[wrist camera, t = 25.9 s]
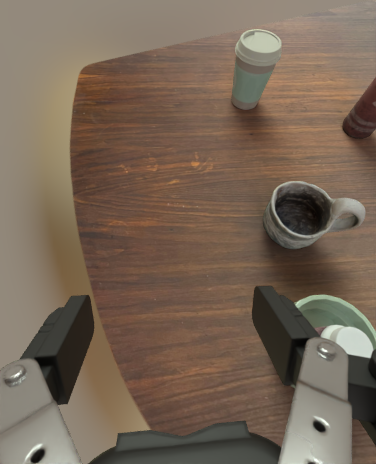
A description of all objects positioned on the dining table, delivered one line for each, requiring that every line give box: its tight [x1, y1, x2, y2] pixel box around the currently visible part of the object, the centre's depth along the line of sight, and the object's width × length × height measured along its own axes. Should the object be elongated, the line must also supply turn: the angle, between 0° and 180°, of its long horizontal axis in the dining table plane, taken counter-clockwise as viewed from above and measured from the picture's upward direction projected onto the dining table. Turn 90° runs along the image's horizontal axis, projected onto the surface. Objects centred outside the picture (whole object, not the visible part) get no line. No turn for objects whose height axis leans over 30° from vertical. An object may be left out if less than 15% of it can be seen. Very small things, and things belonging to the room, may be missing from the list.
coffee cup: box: [231, 29, 282, 110], centre depth 50 cm, size 9×8×12 cm
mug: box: [263, 181, 365, 249], centre depth 37 cm, size 10×12×10 cm
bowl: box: [291, 295, 376, 389], centre depth 32 cm, size 12×12×5 cm
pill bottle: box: [314, 325, 373, 358], centre depth 30 cm, size 5×5×8 cm
